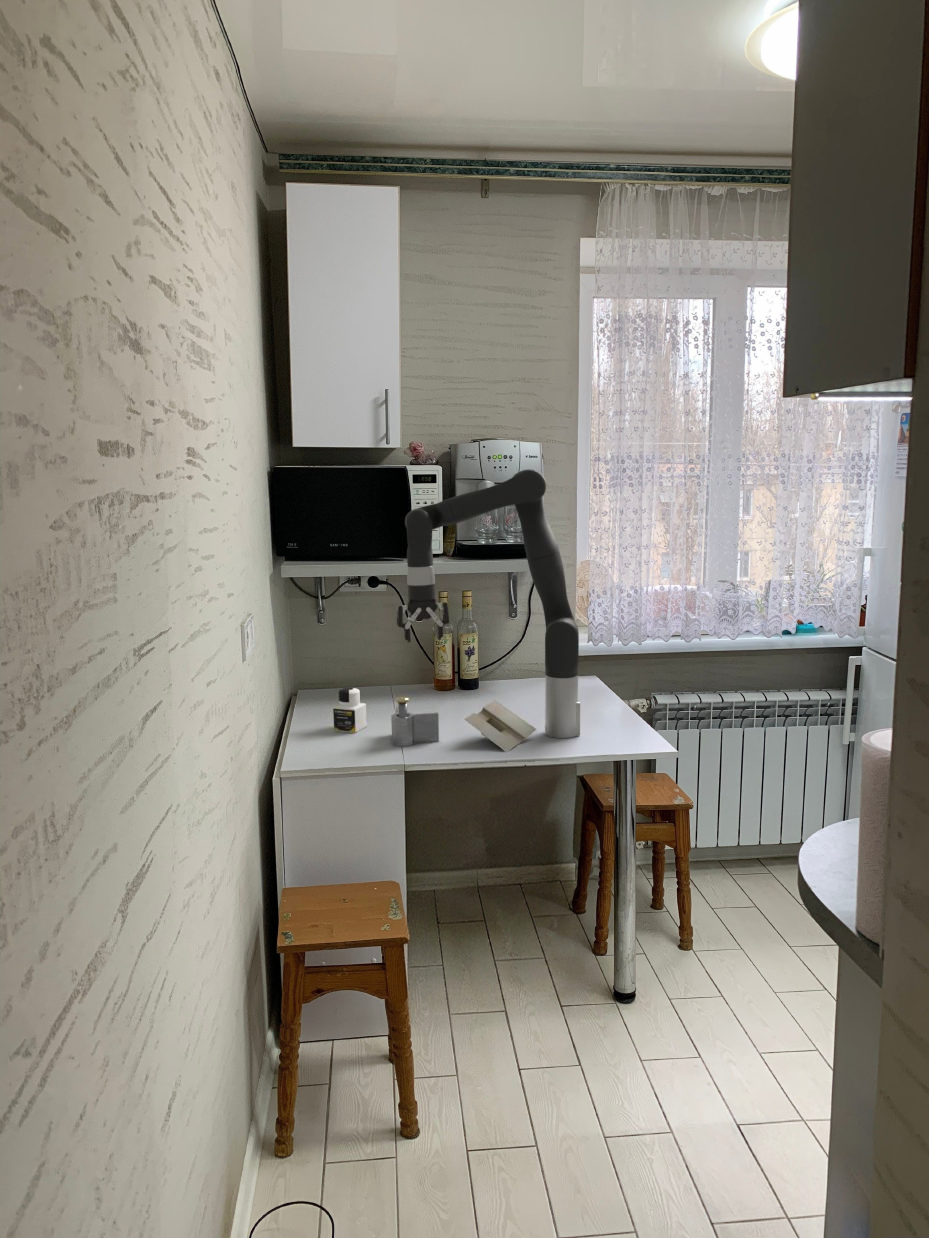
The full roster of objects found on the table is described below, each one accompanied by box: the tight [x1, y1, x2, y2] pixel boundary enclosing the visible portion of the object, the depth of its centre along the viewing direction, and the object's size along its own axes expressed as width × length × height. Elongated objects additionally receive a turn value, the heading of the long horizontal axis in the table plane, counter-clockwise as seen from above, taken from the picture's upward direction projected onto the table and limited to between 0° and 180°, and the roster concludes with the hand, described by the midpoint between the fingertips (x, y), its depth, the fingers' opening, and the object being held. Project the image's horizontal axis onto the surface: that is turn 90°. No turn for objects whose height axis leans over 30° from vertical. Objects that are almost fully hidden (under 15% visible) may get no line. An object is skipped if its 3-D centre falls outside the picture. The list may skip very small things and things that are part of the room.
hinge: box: [390, 705, 440, 748], centre depth 256 cm, size 13×13×8 cm
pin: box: [395, 696, 410, 717], centre depth 251 cm, size 3×3×13 cm
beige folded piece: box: [464, 699, 538, 753], centre depth 255 cm, size 16×9×15 cm
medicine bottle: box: [332, 687, 367, 734], centre depth 266 cm, size 7×7×12 cm
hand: (423, 640), depth 253 cm, fingers open, 8 cm apart
